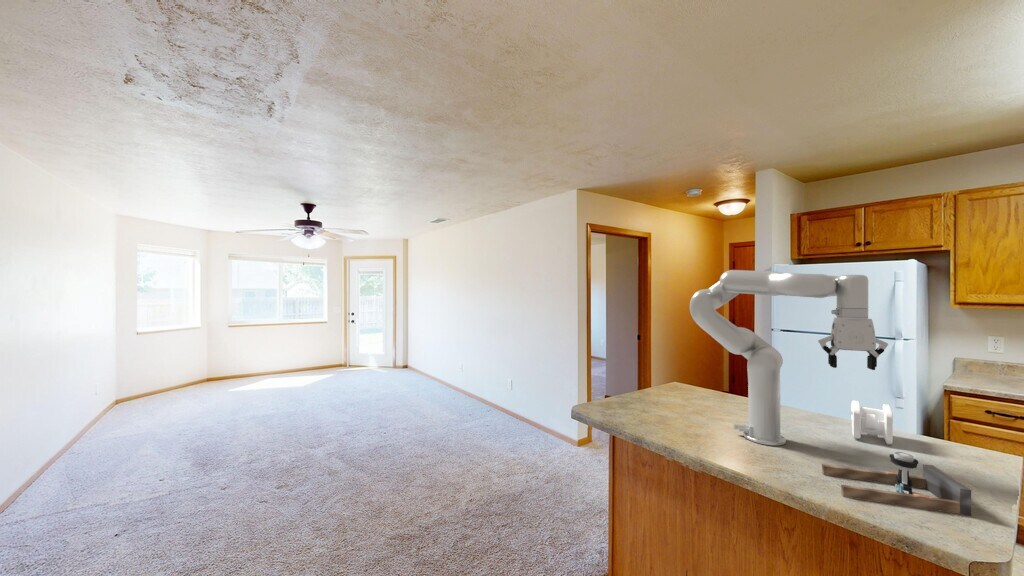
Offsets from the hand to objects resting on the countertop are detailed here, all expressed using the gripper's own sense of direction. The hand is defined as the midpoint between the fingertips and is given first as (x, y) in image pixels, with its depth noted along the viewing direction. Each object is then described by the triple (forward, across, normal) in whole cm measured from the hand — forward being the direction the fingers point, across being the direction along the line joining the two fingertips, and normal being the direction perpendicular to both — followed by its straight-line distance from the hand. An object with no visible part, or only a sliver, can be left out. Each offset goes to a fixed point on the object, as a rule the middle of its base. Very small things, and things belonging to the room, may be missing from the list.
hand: (852, 368), depth 122 cm
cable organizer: (+29, +14, +22) cm, 39 cm away
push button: (+28, +2, -22) cm, 36 cm away
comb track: (+28, -1, -22) cm, 36 cm away
